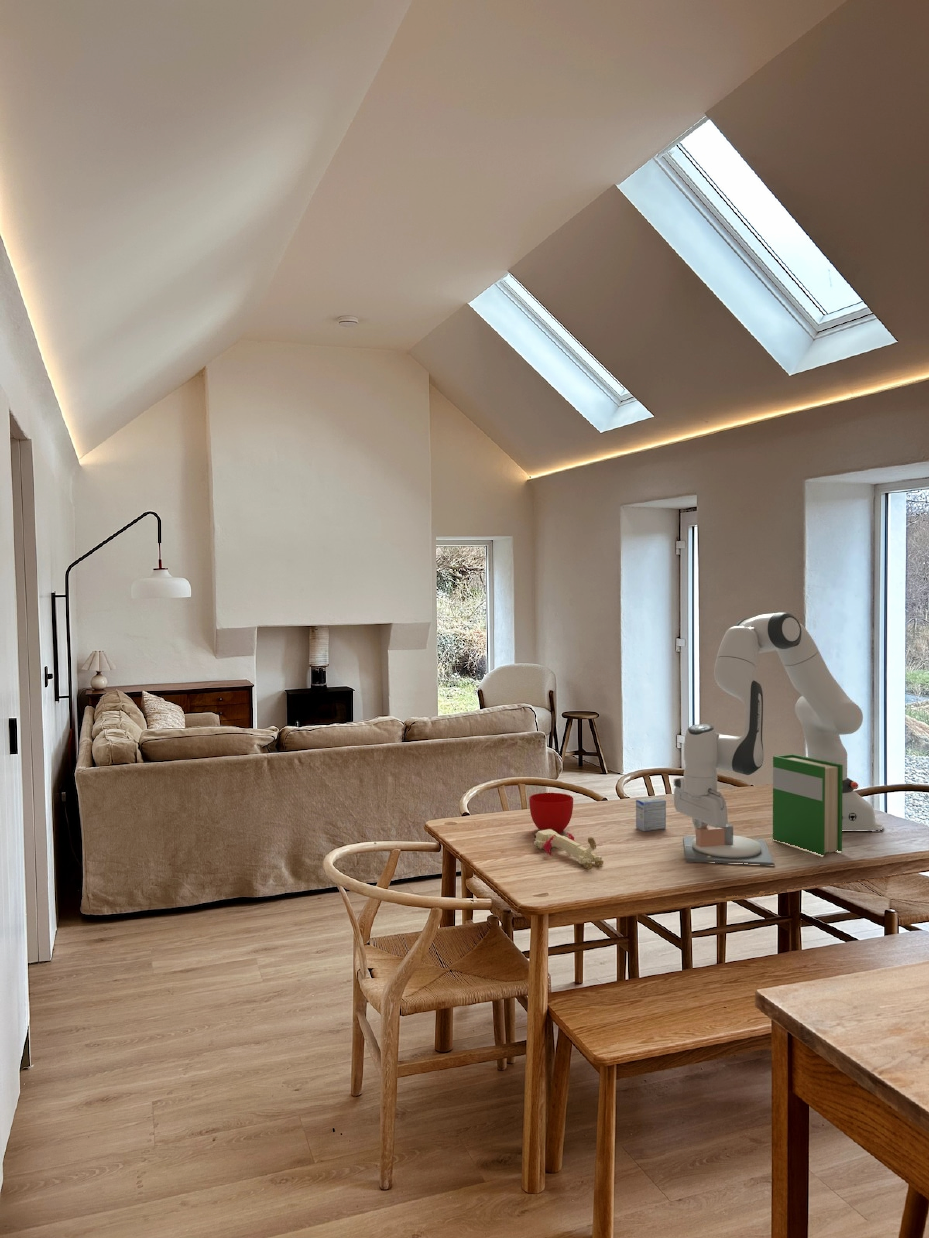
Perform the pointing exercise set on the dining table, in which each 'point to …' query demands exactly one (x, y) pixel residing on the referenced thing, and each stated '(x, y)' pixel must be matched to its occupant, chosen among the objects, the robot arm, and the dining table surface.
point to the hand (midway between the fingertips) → (700, 835)
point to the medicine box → (650, 814)
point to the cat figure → (568, 847)
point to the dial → (724, 843)
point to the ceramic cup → (551, 810)
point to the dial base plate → (696, 856)
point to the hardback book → (807, 803)
